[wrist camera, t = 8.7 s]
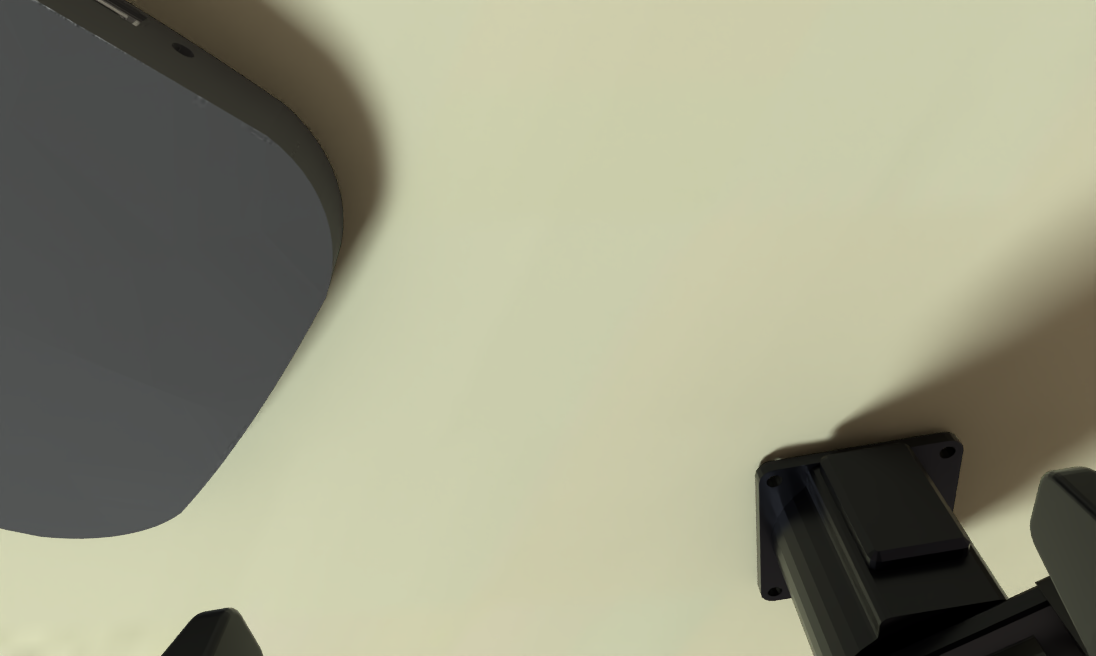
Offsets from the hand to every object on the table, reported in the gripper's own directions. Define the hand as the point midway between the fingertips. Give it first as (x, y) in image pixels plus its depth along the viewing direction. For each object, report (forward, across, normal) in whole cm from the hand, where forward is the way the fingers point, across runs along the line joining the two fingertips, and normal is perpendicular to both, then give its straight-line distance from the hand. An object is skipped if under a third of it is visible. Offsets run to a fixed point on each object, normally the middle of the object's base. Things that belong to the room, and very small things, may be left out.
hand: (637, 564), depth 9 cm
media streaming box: (+14, +14, 0) cm, 20 cm away
